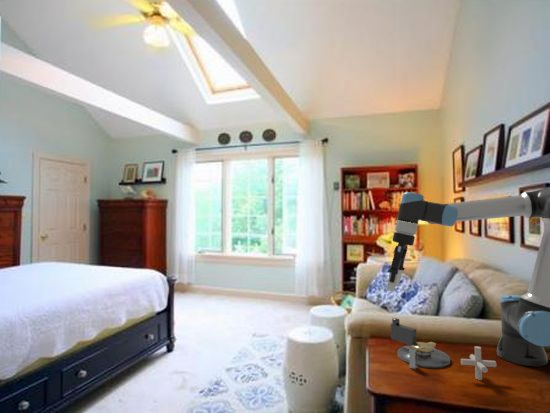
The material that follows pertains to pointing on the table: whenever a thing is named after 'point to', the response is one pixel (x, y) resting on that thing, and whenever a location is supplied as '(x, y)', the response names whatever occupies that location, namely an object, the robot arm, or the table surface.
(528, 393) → the table surface
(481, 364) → the pipe connector
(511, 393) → the table surface
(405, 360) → the post plate
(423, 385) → the table surface
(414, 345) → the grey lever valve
